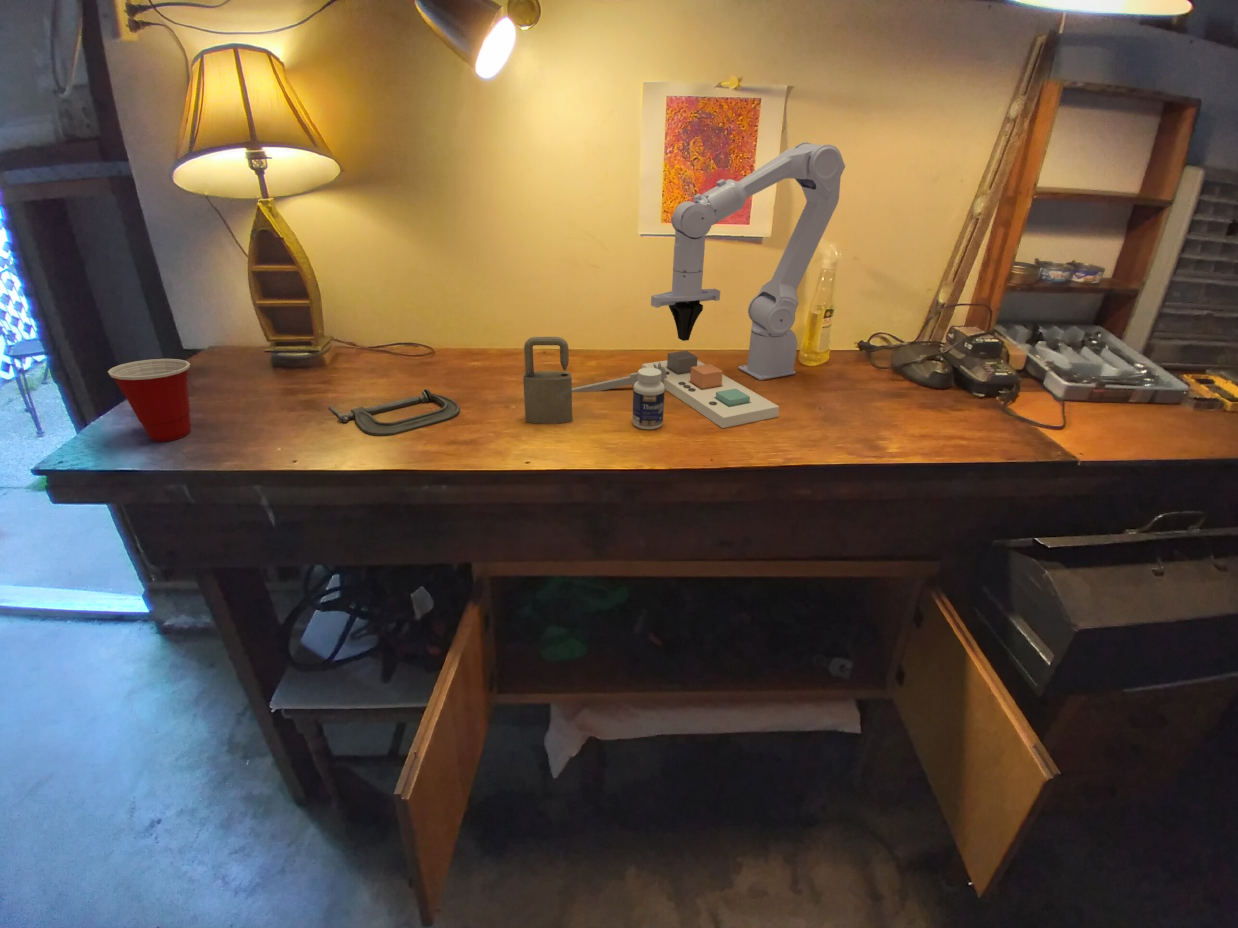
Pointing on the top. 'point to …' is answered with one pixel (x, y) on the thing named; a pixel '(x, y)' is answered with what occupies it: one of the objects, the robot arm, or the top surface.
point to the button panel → (710, 405)
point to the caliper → (617, 382)
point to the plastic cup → (157, 395)
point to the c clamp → (408, 424)
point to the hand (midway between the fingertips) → (683, 339)
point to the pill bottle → (648, 399)
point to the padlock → (547, 386)
